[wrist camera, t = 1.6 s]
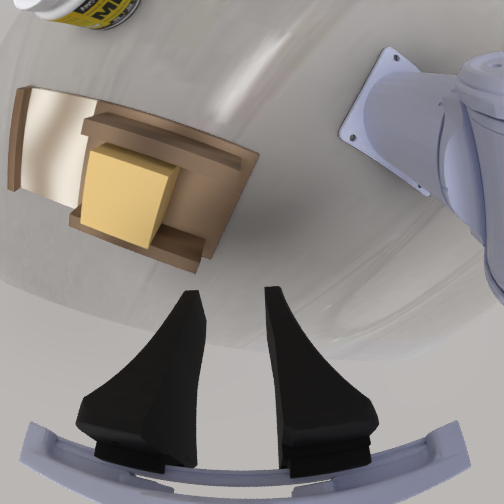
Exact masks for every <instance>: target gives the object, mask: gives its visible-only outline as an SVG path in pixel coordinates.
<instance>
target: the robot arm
mask: <svg viewBox="0 0 504 504" xmlns="http://www.w3.org/2000/svg"><path fill="white" fill-rule="evenodd" d="M394 55H395V56H396V57H397V61H395V60H394V58H393V57H394ZM352 134H354V136H355V138H354V140H352V141H350V136H351V135H352ZM339 137H340V138H341V139H342V140H343V141H345V142H347V143H348V144H350V145H352V146H353V147H355V148H357V149H358V150H360V151H362V152H363V153H365V154H366V155H368V156H369V157H371V158H373V159H374V160H376V161H377V162H379V163H380V164H382V165H383V166H385V167H386V168H388V169H389V170H390V171H392V172H393V173H395V174H396V175H398V176H399V177H400V178H402V179H403V180H405V181H406V182H407V183H409V184H410V185H411V186H413V187H414V188H415V189H417V190H418V191H419V192H421V193H422V194H423V195H424V196H429V195H430V194H432V195H433V196H434V197H435V198H437V199H438V200H439V201H440V202H442V203H443V204H444V205H445V206H446V207H448V208H449V209H450V210H451V211H452V212H453V213H455V214H456V215H457V216H458V217H459V218H460V219H461V220H462V221H463V222H465V223H466V224H467V225H468V226H469V227H470V230H471V234H472V235H473V236H474V237H475V238H476V239H477V240H478V241H479V242H480V243H481V244H482V245H483V246H484V247H485V251H484V270H485V274H486V279H487V281H488V284H489V286H490V288H491V290H492V292H493V293H494V295H495V296H496V297H497V299H498V300H499V301H500V302H501V303H502V304H503V305H504V51H497V52H491V53H486V54H482V55H478V56H475V57H473V58H471V59H469V60H467V61H466V62H465V63H464V64H463V66H462V69H461V71H460V72H459V73H458V74H457V75H448V74H438V73H424V72H421V71H420V70H419V69H418V68H417V67H416V66H414V65H413V64H412V63H411V62H410V61H408V60H407V59H406V58H405V57H403V56H402V55H401V54H400V53H398V52H397V51H396V50H394V49H393V48H391V47H387V48H384V49H383V51H382V53H381V54H380V56H379V58H378V60H377V62H376V64H375V66H374V68H373V69H372V71H371V73H370V75H369V77H368V79H367V81H366V82H365V84H364V86H363V88H362V90H361V92H360V93H359V95H358V97H357V99H356V101H355V103H354V104H353V106H352V108H351V110H350V112H349V113H348V115H347V117H346V119H345V121H344V123H343V124H342V126H341V128H340V130H339ZM418 184H419V185H420V186H418ZM264 288H265V309H266V329H267V341H268V347H269V354H270V359H271V366H272V372H273V378H274V385H275V398H276V415H277V434H278V456H279V469H278V470H255V471H229V470H207V469H195V468H194V467H196V466H197V447H196V406H197V389H198V381H199V375H200V369H201V363H202V357H203V352H204V347H205V340H206V322H207V321H206V317H205V314H204V310H203V306H202V302H201V298H200V294H199V290H189V291H185V292H184V293H183V294H182V296H181V297H180V299H179V300H178V302H177V304H176V305H175V307H174V308H173V310H172V311H171V313H170V314H169V316H168V317H167V318H166V320H165V321H164V323H163V324H162V325H161V327H160V328H159V330H158V331H157V332H156V333H155V335H154V336H153V337H152V339H151V340H150V341H149V342H148V344H147V345H146V346H145V347H144V348H143V349H142V350H141V352H139V354H138V355H137V356H136V357H135V358H134V359H133V360H132V361H131V362H130V363H129V364H128V365H127V366H126V367H125V368H123V369H122V370H121V371H120V372H119V373H118V374H116V375H115V376H114V377H113V378H112V379H110V380H109V381H108V382H106V383H105V384H104V385H102V386H101V387H99V388H98V389H96V390H95V391H93V392H92V393H90V394H89V395H87V396H85V397H84V398H83V400H82V403H81V406H80V409H79V413H78V416H77V420H76V426H77V427H78V429H80V430H81V431H82V432H84V433H85V434H87V435H88V436H89V437H91V438H92V439H94V440H95V441H97V443H96V447H95V449H93V448H90V447H87V446H84V445H81V444H78V443H75V442H72V441H69V440H67V439H64V438H61V437H58V436H57V435H56V434H54V433H53V432H52V431H50V430H48V429H47V428H45V427H42V426H40V425H38V424H36V423H33V422H30V424H29V427H28V430H27V434H26V437H25V440H24V444H23V447H22V451H21V455H20V459H19V461H20V462H21V463H22V464H24V465H25V466H27V467H29V468H30V469H32V470H34V471H35V472H38V473H39V474H41V475H42V476H44V477H46V478H48V479H50V480H51V481H53V482H55V483H57V484H59V485H60V486H62V487H65V488H66V489H68V490H70V491H72V492H74V493H77V494H79V495H81V496H83V497H85V498H88V499H90V500H92V501H95V502H97V503H99V504H396V503H398V502H401V501H404V500H406V499H408V498H411V497H413V496H416V495H418V494H420V493H422V492H424V491H426V490H429V489H431V488H432V487H435V486H437V485H439V484H441V483H443V482H445V481H447V480H449V479H450V478H452V477H454V476H456V475H458V474H460V473H461V472H463V471H465V470H467V469H468V468H470V467H471V463H470V459H469V455H468V452H467V448H466V445H465V441H464V438H463V435H462V432H461V429H460V426H459V423H458V421H454V422H451V423H449V424H447V425H445V426H443V427H440V428H438V429H436V430H434V431H432V432H430V433H429V434H428V435H427V436H426V437H424V438H422V439H419V440H416V441H413V442H411V443H408V444H405V445H402V446H399V447H395V448H392V449H389V450H386V451H382V452H378V453H375V454H370V450H369V446H370V444H371V441H370V437H369V436H370V435H371V434H372V433H373V432H374V431H375V430H376V428H377V427H378V425H379V420H378V416H377V414H376V411H375V409H374V407H373V405H372V403H371V401H370V399H369V398H367V397H366V396H364V395H363V394H362V393H361V392H359V391H358V390H357V389H355V388H354V387H353V386H352V385H351V384H350V383H348V382H347V381H346V380H345V379H344V378H343V377H342V376H341V375H340V374H339V373H338V372H337V371H336V370H335V369H334V368H333V367H332V366H331V365H330V364H329V363H328V362H327V361H326V360H325V359H324V358H323V356H322V355H321V354H320V353H319V352H318V351H317V349H316V348H315V347H314V346H313V344H312V343H311V342H310V340H309V339H308V337H307V336H306V334H305V333H304V332H303V330H302V329H301V327H300V325H299V324H298V322H297V320H296V319H295V317H294V315H293V314H292V312H291V310H290V308H289V306H288V304H287V302H286V300H285V298H284V295H283V292H282V289H281V288H280V287H279V286H272V287H264ZM134 474H135V475H140V476H144V477H150V478H154V479H160V480H166V481H173V482H181V483H188V484H198V485H209V486H228V487H259V486H260V487H261V486H280V485H292V484H301V483H310V482H317V481H323V480H329V479H331V480H330V481H325V482H320V483H314V484H310V485H304V486H298V487H295V488H294V491H292V497H290V498H273V499H230V498H213V497H200V496H191V495H183V494H174V489H173V488H171V487H168V486H164V485H161V484H159V483H157V482H155V481H151V480H147V479H143V478H139V477H136V476H135V475H134Z"/></svg>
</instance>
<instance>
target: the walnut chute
mask: <svg viewBox="0 0 504 504" xmlns="http://www.w3.org/2000/svg"><path fill="white" fill-rule="evenodd" d="M106 142H108V143H111V144H115V145H118V146H121V147H124V148H127V149H130V150H133V151H136V152H139V153H142V154H145V155H148V156H151V157H154V158H157V159H160V160H163V161H166V162H168V163H171V164H174V165H177V166H180V167H181V168H180V171H179V174H178V177H177V179H176V182H175V185H174V188H173V191H172V194H171V197H170V201H169V204H168V207H167V210H166V213H165V217H164V220H163V221H162V223H161V225H160V227H159V229H158V230H157V232H156V234H155V236H154V238H153V240H152V242H151V244H150V246H149V248H148V249H146V248H143V247H140V246H138V245H135V244H132V243H130V242H127V241H124V240H122V239H119V238H117V237H114V236H111V235H109V234H106V233H104V232H101V231H98V230H96V229H93V228H91V227H88V226H86V225H83V224H81V223H80V220H81V209H82V200H83V192H84V185H85V178H86V172H87V166H88V160H89V155H90V150H92V149H94V148H96V147H98V146H100V145H102V144H104V143H106ZM258 157H259V154H258V153H256V152H253V151H251V150H249V149H246V148H244V147H241V146H239V145H237V144H234V143H232V142H229V141H226V140H224V139H221V138H219V137H216V136H214V135H211V134H208V133H205V132H203V131H200V130H197V129H194V128H192V127H189V126H186V125H183V124H180V123H177V122H174V121H171V120H168V119H165V118H162V117H159V116H156V115H152V114H149V113H146V112H142V111H139V110H136V109H132V108H128V107H125V106H121V105H117V104H114V103H110V102H106V101H102V100H98V99H93V98H89V97H85V96H80V95H75V94H70V93H65V92H60V91H55V90H49V89H43V88H37V87H30V86H28V87H23V88H18V89H17V91H16V97H15V102H14V108H13V114H12V121H11V129H10V139H9V152H8V189H9V190H11V191H13V192H15V191H16V190H18V189H19V188H20V187H21V188H24V189H26V190H29V191H31V192H34V193H36V194H38V195H41V196H43V197H46V198H48V199H51V200H53V201H56V202H58V203H61V204H64V205H66V206H69V207H71V208H74V209H75V210H74V211H73V212H71V213H70V217H69V226H70V227H73V228H75V229H78V230H80V231H83V232H85V233H88V234H90V235H93V236H95V237H98V238H100V239H103V240H105V241H108V242H110V243H113V244H115V245H118V246H121V247H123V248H126V249H129V250H131V251H134V252H136V253H139V254H142V255H145V256H147V257H150V258H153V259H155V260H158V261H161V262H164V263H166V264H169V265H172V266H175V267H178V268H180V269H183V270H186V271H189V272H192V273H195V274H196V272H197V269H198V267H199V264H200V261H201V256H202V257H205V258H208V259H211V258H212V256H213V254H214V252H215V249H216V247H217V245H218V243H219V240H220V238H221V236H222V234H223V232H224V229H225V227H226V225H227V223H228V221H229V218H230V216H231V214H232V212H233V210H234V208H235V206H236V203H237V201H238V199H239V197H240V195H241V193H242V191H243V189H244V186H245V184H246V182H247V180H248V178H249V176H250V174H251V172H252V170H253V168H254V166H255V164H256V161H257V159H258Z"/></svg>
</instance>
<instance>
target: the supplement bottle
mask: <svg viewBox="0 0 504 504" xmlns="http://www.w3.org/2000/svg"><path fill="white" fill-rule="evenodd" d="M139 1H140V0H14V4H15V6H16V7H17V8H18V9H20V10H26V11H32V12H35V14H36V15H37V16H38V17H39V18H41V19H44V20H48V21H55V22H61V23H66V24H71V25H76V26H81V27H86V28H90V29H95V30H104V29H108V28H111V27H114V26H116V25H118V24H120V23H121V22H123V21H124V20H125V19H127V18H128V17H129V16H130V15H131V14H132V13H133V11H134V10H135V9H136V7H137V5H138V3H139Z"/></svg>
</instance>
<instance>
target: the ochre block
mask: <svg viewBox="0 0 504 504" xmlns="http://www.w3.org/2000/svg"><path fill="white" fill-rule="evenodd" d="M180 168H181V167H180V166H177V165H174V164H171V163H168V162H166V161H163V160H160V159H157V158H154V157H151V156H148V155H145V154H142V153H139V152H136V151H133V150H130V149H127V148H124V147H121V146H118V145H115V144H111V143H108V142H106V143H104V144H102V145H100V146H98V147H96V148H94V149H92V150H90V155H89V160H88V166H87V172H86V178H85V185H84V192H83V200H82V209H81V220H80V223H81V224H83V225H86V226H88V227H91V228H93V229H96V230H98V231H101V232H104V233H106V234H109V235H111V236H114V237H117V238H119V239H122V240H124V241H127V242H130V243H132V244H135V245H138V246H140V247H143V248H146V249H148V248H149V246H150V244H151V242H152V240H153V238H154V236H155V234H156V232H157V230H158V229H159V227H160V225H161V223H162V221H163V220H164V217H165V213H166V210H167V207H168V204H169V201H170V197H171V194H172V191H173V188H174V185H175V182H176V179H177V177H178V174H179V171H180Z"/></svg>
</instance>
